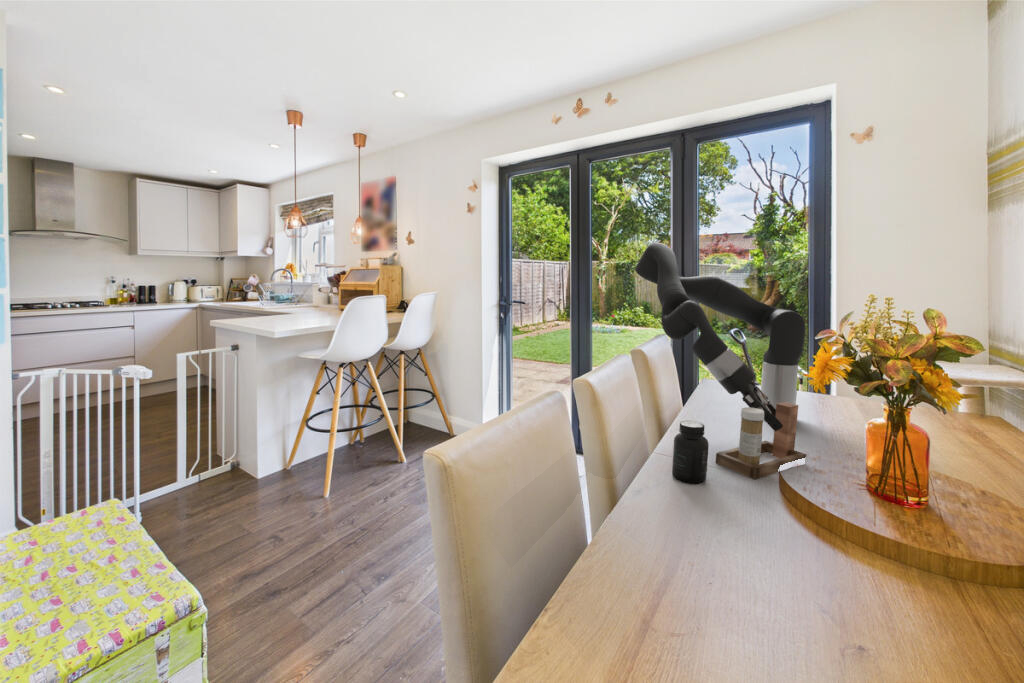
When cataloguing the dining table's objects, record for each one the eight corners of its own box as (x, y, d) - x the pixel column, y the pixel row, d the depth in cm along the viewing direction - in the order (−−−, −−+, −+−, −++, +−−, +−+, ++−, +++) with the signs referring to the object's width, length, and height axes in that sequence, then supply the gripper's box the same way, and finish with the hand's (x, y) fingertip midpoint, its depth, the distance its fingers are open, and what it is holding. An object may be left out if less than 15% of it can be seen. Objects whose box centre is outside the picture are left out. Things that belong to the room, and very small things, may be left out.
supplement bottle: (695, 470, 99) (698, 418, 98) (712, 484, 93) (716, 428, 91) (666, 472, 98) (669, 419, 97) (681, 486, 92) (684, 430, 90)
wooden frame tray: (767, 449, 112) (771, 398, 110) (807, 463, 103) (813, 408, 102) (715, 462, 103) (719, 408, 102) (755, 479, 95) (760, 420, 93)
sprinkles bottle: (745, 461, 104) (750, 405, 102) (764, 469, 100) (769, 411, 98) (732, 465, 102) (736, 408, 100) (750, 472, 98) (755, 413, 96)
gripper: (719, 374, 118) (764, 423, 114) (715, 386, 105) (765, 441, 102) (743, 356, 114) (790, 406, 111) (742, 366, 102) (795, 423, 99)
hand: (778, 423), depth 106 cm, fingers open, 8 cm apart
